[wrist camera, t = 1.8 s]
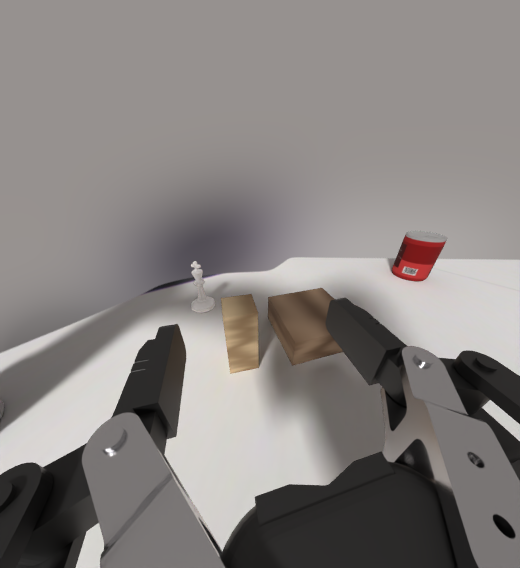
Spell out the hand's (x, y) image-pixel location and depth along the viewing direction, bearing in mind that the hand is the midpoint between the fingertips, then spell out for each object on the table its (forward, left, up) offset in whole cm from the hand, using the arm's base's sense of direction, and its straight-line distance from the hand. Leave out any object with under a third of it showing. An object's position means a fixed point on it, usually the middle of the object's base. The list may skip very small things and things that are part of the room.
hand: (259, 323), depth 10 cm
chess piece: (-6, +26, -17) cm, 32 cm away
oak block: (0, +11, -17) cm, 20 cm away
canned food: (+48, +27, -17) cm, 58 cm away
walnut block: (+12, +14, -17) cm, 25 cm away
